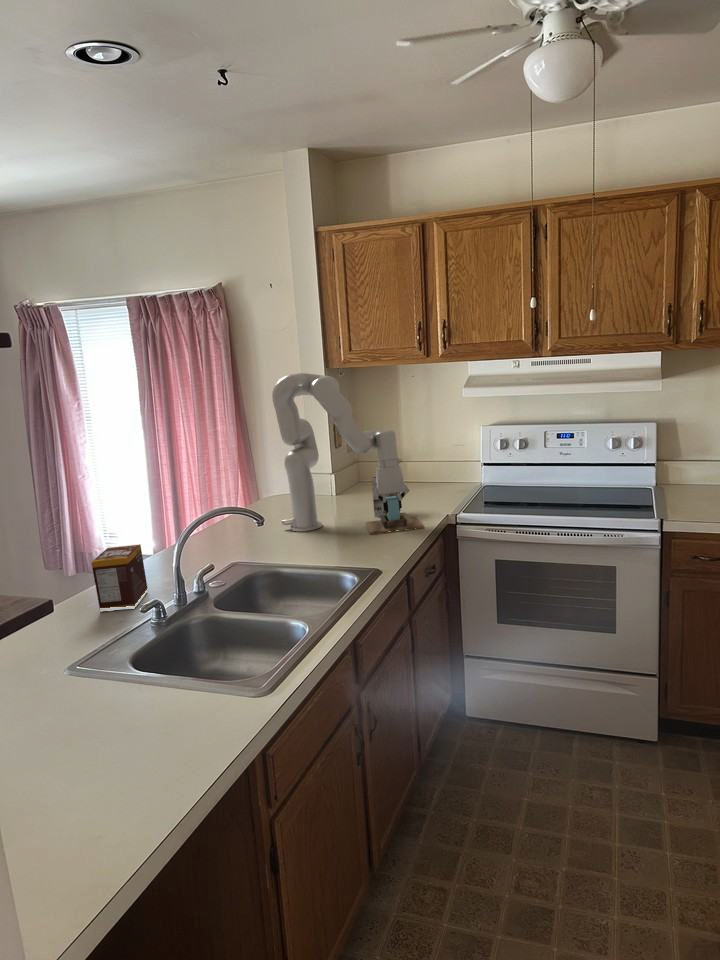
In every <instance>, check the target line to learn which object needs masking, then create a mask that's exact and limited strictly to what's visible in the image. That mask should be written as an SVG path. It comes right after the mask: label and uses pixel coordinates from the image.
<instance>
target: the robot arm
mask: <svg viewBox="0 0 720 960" xmlns="http://www.w3.org/2000/svg"><path fill="white" fill-rule="evenodd" d="M301 396H310V397H311V396H313V398H315V400H316V401H317V403H318V404H320V405H321V407H322V408H323V409H324V410H325V411H326V413H327V414H328V415H329V417H330V418H331V419H332V420H333V422H334V425H335V427H336V429H337V432H338V433H339V435H340V436H341V438H342V439H343V440H344V442H345V443H346V444H347V445H348V446H349V447H350V449H351V450H352V451H354V452H355V453H357V454H359V455H360V454H361V455H364V454H367V453H369V452H370V451H373V450H376V456H377V464H378V467H376V469H375V470H376V471H375V477H376V485H377V487H376V489H375V491H374V493H373V492H372V497H373V496H375V497H377V498H379V499H380V500H381V501H382V502H383V506H384V510H386V513H388V504H387V501H386V495H387V494H393V493H396V494H397V497H398V500H399V510H400V512H401V511H402V510H401V509H402V508H403V507H402V505H403V504H402V500H403V499H404V497H405V496H406V495H407V494H408V493H410V489H409V488H408V487H407V485H406V484H405V479H404V474H403V471H402V467H401V465H400V463H403V459H402V458H399V456H398V455H399V454H398V447H397V444H398V443H397V437H396V432H395V431H394V430H392V429H384V430H364V431H362V429H361V428H360V427H359V426H358V425H357V423H356V421H355V419H354V417H353V413H352V412H353V411H352V406H351V404H350V403H349V402H348V400H347V399H346V398H345V397H344V395H343V394H342V393H341V392H340V383H339V382H338V380H337V379H336V378H335V377H333V376H330V375H324V374H323V375H322V374H314V373H306V372H297V373H292V374H288V375H285V376H283V377H281V378H280V379H279V380H278V381H277V382H276V383H275V385H274V386H273V390H272V394H271V398H272V402H273V406H274V407H273V409H274V410H275V415H276V420H277V424H278V428H279V433H280V437H281V440H282V442H283V443H284V444H286V445H287V446H291V447H292V446H293V448H294V449H291V450H290V451H288V453H287V454H286V456H285V458H284V469H285V471H286V476H287V480H288V488H289V495H290V504H291V505H290V506H291V512H292V516H291V518H289V519H282V520H281V524H282V526H289V528H290V530H291V531H292V532H297V533H298V532H309V531H314V530H317V529H321V527H322V526H323V523H322V521H320V520H318V510H317V503H316V501H317V500H316V494H315V486H314V484H315V483H314V479H313V476H312V471H311V469H312V468H314V467H315V466H316V465H317V463H318V461H319V450H318V446H317V440H316V437H315V432H314V429H313V427H312V425H311V424H310V422H309V421H308V420H306V419H305V418H301V417H300V413H299V409H298V407H297V403H295V398H296V397H301ZM377 493H379V494H381V495H382V496H381V495H378V494H377Z"/></svg>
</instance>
